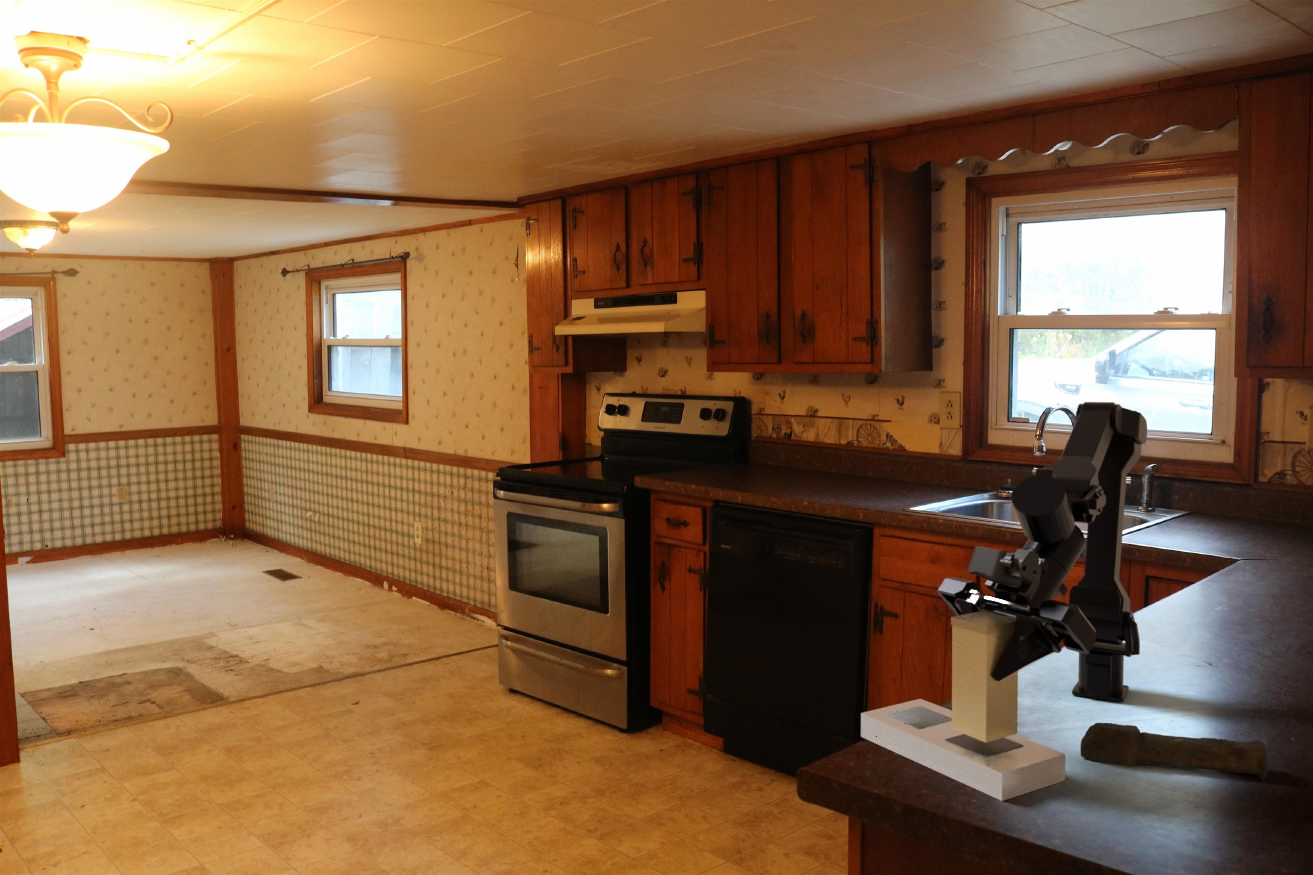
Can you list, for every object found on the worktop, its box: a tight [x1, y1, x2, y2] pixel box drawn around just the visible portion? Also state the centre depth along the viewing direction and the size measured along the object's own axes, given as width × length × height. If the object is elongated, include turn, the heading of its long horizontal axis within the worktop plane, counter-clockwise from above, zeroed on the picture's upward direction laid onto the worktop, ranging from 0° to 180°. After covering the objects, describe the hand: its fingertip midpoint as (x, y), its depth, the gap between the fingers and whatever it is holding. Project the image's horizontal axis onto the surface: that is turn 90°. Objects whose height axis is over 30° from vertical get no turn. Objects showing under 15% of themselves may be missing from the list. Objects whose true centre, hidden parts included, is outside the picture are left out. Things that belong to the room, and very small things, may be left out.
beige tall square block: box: [950, 611, 1019, 743], centre depth 116 cm, size 5×5×13 cm
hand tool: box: [1080, 722, 1268, 781], centre depth 117 cm, size 19×4×5 cm, turn 71°
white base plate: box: [860, 698, 1066, 802], centre depth 120 cm, size 10×22×3 cm, turn 30°
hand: (976, 672), depth 115 cm, fingers closed on beige tall square block, 5 cm apart
